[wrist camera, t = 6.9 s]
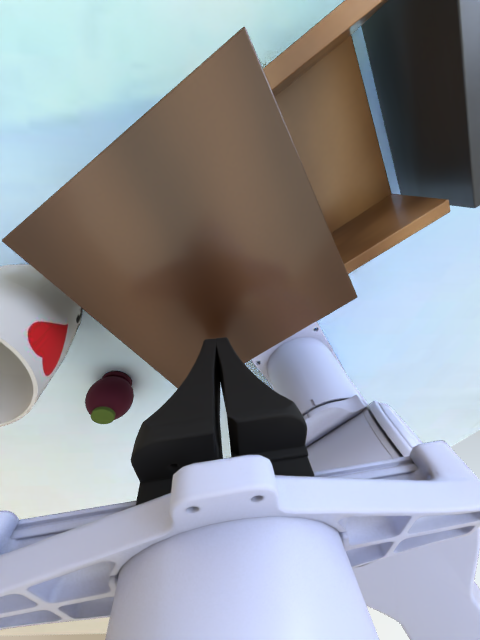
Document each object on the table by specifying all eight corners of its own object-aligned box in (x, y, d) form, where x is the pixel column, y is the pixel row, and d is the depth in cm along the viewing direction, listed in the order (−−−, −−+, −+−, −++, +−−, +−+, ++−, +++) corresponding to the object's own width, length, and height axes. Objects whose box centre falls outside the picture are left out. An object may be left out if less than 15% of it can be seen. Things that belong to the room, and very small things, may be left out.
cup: (87, 345, 24) (22, 442, 15) (-16, 311, 21) (-169, 407, 12) (115, 275, 21) (53, 346, 12) (-1, 222, 18) (-192, 267, 9)
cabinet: (226, 89, 16) (245, 24, 9) (310, 260, 22) (358, 297, 15) (75, 215, 18) (0, 240, 11) (191, 336, 25) (187, 397, 18)
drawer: (459, -91, 13) (643, -282, 7) (476, 152, 19) (584, 143, 13) (192, 130, 16) (188, 107, 10) (280, 277, 22) (305, 310, 16)
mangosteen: (146, 383, 27) (137, 418, 23) (117, 401, 28) (104, 437, 24) (116, 360, 25) (100, 393, 21) (86, 379, 26) (65, 416, 22)
